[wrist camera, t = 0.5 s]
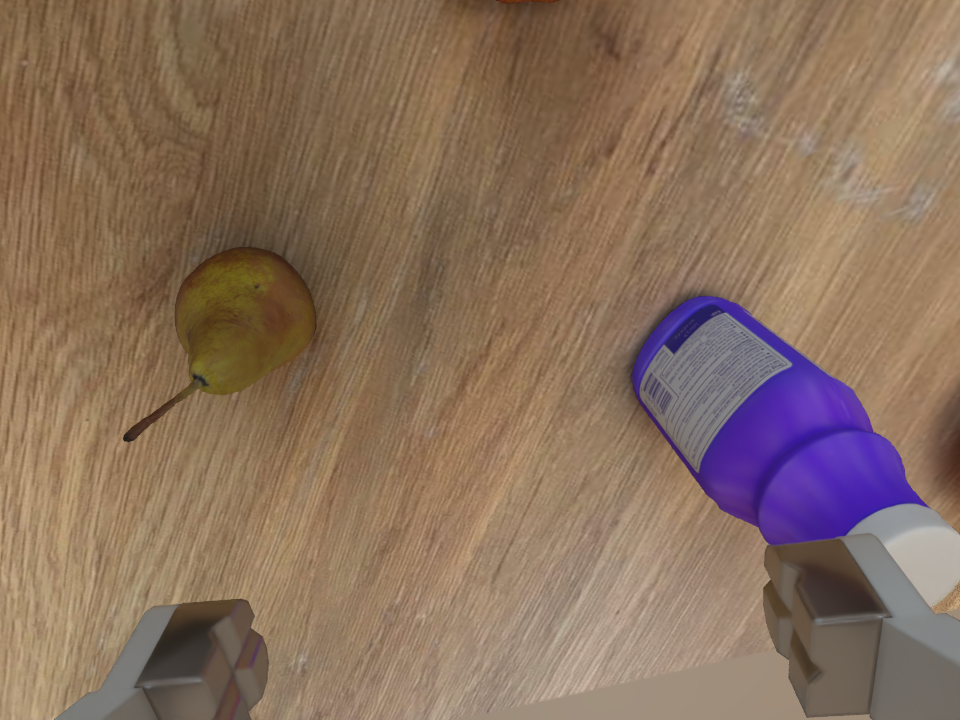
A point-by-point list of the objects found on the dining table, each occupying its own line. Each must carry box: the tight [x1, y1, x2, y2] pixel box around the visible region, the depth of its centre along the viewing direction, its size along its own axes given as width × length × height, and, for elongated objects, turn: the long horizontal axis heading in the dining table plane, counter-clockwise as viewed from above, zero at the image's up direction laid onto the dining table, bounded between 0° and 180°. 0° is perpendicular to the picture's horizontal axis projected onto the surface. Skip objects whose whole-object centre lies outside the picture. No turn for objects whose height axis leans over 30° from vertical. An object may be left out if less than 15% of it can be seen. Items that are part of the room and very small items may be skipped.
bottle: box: [632, 296, 960, 608], centre depth 30 cm, size 7×6×17 cm
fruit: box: [123, 247, 317, 442], centre depth 27 cm, size 6×6×12 cm
